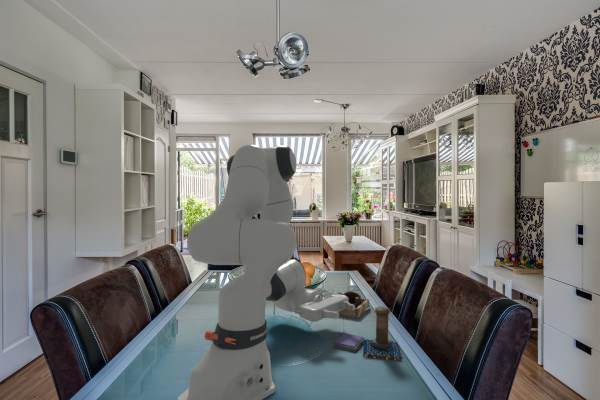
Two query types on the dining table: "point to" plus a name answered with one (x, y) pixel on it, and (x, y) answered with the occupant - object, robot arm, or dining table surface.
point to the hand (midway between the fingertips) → (346, 311)
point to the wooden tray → (356, 309)
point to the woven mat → (381, 351)
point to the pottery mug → (353, 298)
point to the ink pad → (349, 342)
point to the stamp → (382, 329)
